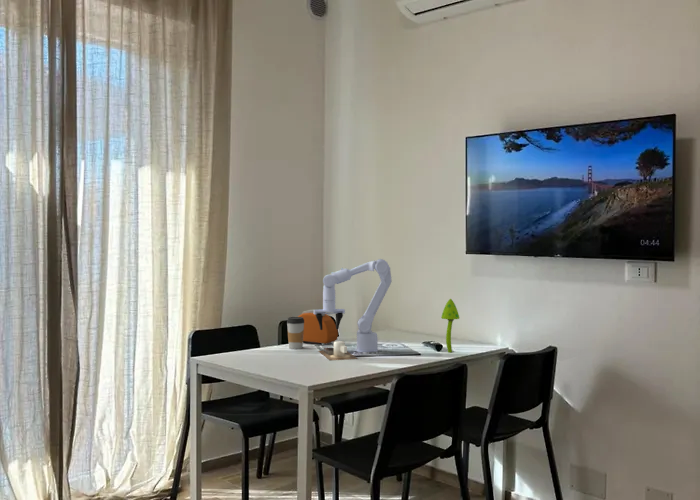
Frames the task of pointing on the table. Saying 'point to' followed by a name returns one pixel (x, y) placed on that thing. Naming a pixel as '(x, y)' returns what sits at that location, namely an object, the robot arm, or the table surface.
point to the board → (337, 359)
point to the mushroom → (449, 320)
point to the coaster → (340, 357)
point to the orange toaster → (318, 328)
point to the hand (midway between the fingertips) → (329, 329)
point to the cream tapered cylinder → (339, 348)
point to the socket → (329, 351)
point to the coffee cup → (295, 332)
